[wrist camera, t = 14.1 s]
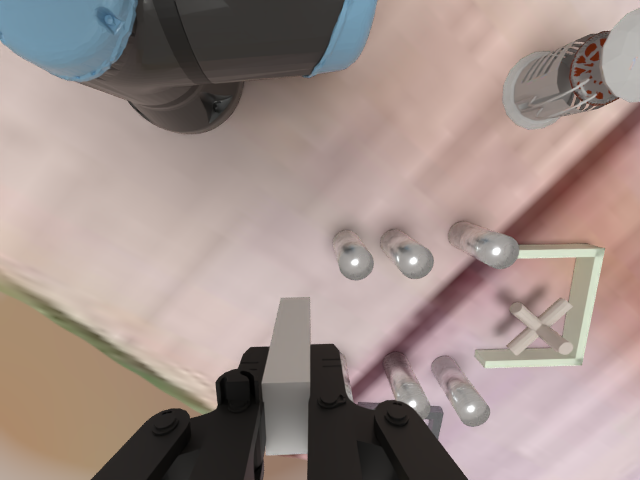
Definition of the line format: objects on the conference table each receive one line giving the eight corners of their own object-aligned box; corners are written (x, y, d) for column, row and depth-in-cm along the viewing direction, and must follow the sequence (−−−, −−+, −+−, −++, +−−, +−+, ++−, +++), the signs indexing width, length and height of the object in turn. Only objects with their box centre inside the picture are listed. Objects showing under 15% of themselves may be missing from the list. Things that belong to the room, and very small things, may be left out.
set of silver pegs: (319, 223, 45) (321, 239, 35) (476, 221, 46) (521, 235, 36) (321, 381, 51) (323, 431, 41) (460, 376, 51) (495, 425, 42)
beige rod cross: (512, 348, 51) (559, 394, 41) (471, 313, 49) (510, 353, 39) (561, 305, 49) (622, 343, 39) (520, 267, 47) (573, 297, 37)
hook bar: (354, 430, 53) (355, 437, 52) (358, 401, 52) (359, 408, 51) (434, 434, 54) (437, 441, 53) (440, 406, 53) (443, 412, 51)
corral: (486, 245, 46) (498, 250, 44) (586, 243, 47) (605, 248, 44) (474, 356, 51) (484, 368, 48) (566, 353, 51) (581, 365, 48)
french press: (586, 99, 42) (963, 5, 18) (512, 152, 44) (769, 132, 19) (553, 33, 40) (925, -172, 16) (477, 91, 42) (713, -17, 17)
